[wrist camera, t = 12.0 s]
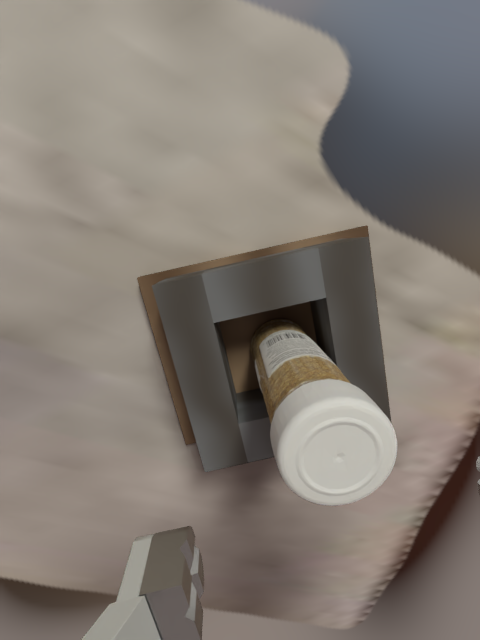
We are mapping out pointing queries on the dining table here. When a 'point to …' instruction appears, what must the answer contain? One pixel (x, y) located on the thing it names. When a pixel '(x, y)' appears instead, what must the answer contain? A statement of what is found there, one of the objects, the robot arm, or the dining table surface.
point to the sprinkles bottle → (319, 419)
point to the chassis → (246, 317)
